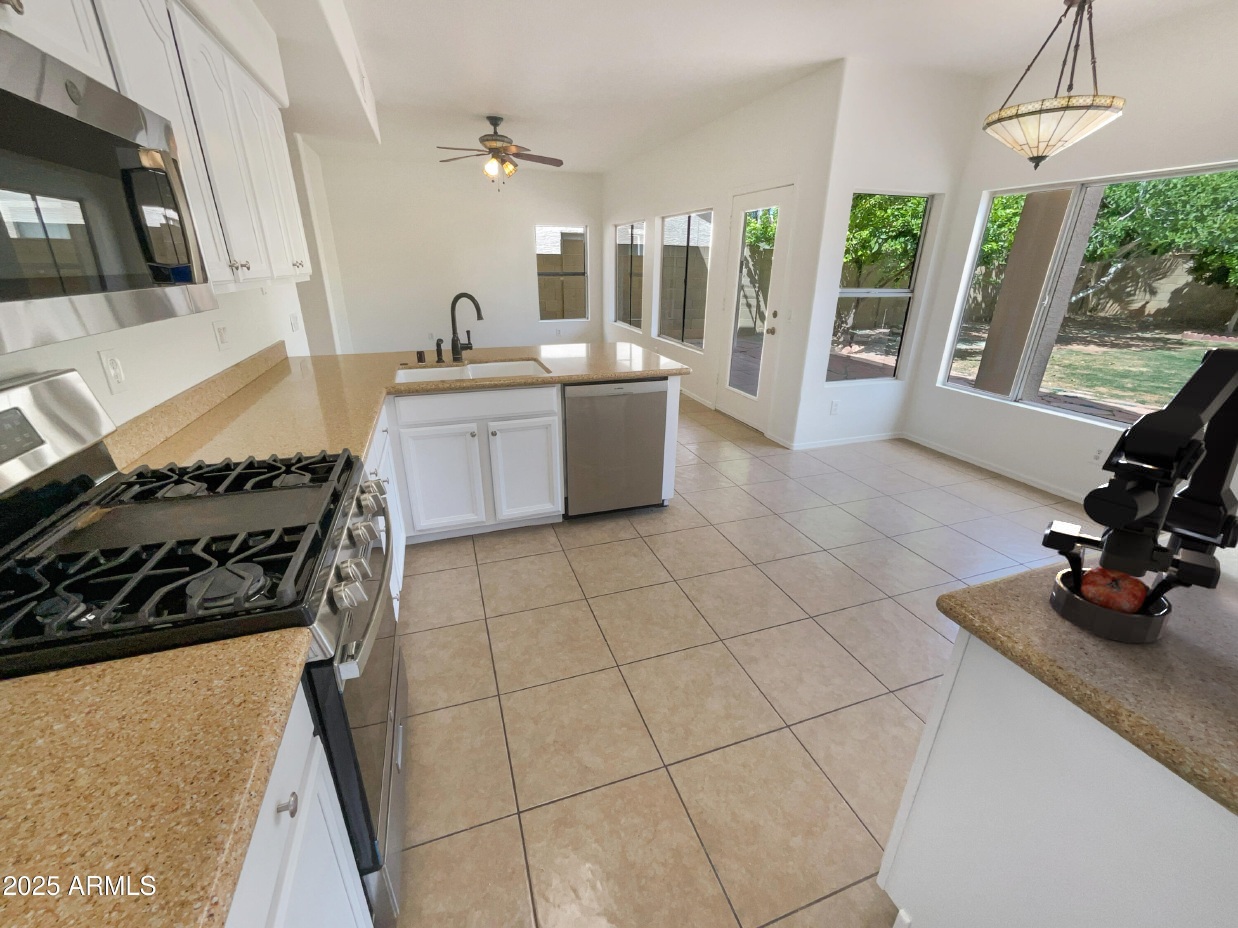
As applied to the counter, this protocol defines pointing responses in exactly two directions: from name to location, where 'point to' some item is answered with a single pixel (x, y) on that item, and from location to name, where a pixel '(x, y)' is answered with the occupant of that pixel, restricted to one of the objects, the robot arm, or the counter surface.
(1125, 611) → the tomato
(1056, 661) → the counter surface
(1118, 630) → the dark shallow dish
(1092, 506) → the robot arm
